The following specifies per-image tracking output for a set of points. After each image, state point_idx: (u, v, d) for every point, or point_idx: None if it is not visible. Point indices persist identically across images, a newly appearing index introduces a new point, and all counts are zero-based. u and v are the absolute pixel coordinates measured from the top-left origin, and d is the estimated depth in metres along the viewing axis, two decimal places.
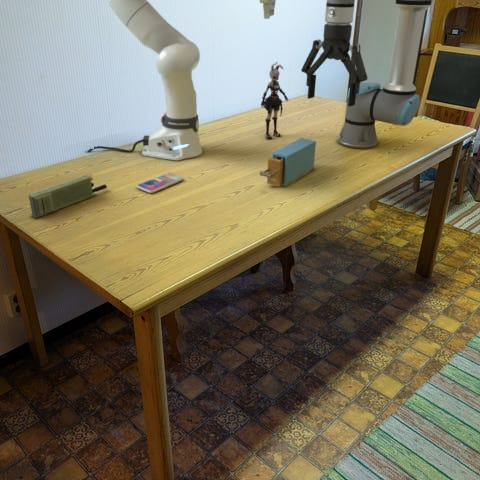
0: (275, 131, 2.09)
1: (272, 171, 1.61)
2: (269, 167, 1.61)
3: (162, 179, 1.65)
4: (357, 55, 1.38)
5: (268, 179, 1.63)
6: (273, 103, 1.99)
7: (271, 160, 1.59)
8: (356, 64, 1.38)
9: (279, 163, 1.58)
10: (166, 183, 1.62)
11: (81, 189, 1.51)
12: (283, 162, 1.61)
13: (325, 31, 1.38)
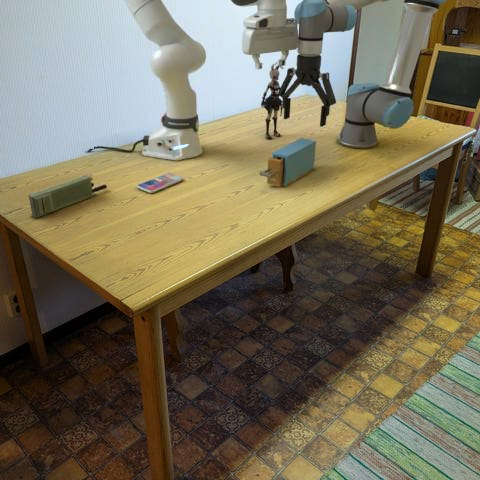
0: (275, 131, 2.09)
1: (272, 171, 1.61)
2: (269, 167, 1.61)
3: (162, 179, 1.65)
4: None
5: (268, 179, 1.63)
6: (273, 103, 1.99)
7: (271, 160, 1.59)
8: None
9: (279, 163, 1.58)
10: (166, 183, 1.62)
11: (81, 189, 1.51)
12: (283, 162, 1.61)
13: None
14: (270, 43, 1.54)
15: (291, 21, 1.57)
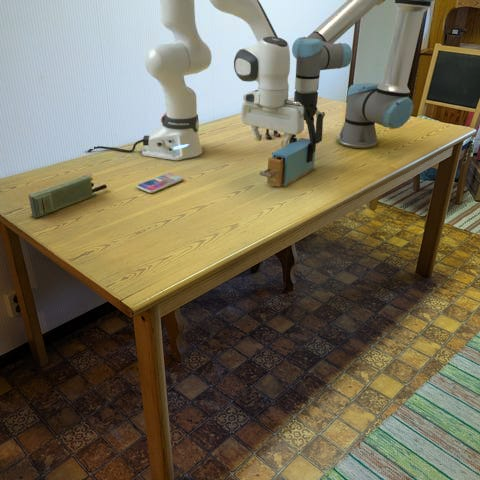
0: (275, 131, 2.09)
1: (272, 171, 1.61)
2: (269, 167, 1.61)
3: (162, 179, 1.65)
4: None
5: (268, 179, 1.63)
6: None
7: (271, 160, 1.59)
8: None
9: (279, 163, 1.58)
10: (166, 183, 1.62)
11: (81, 189, 1.51)
12: (283, 162, 1.61)
13: None
14: (264, 119, 1.50)
15: (294, 104, 1.44)
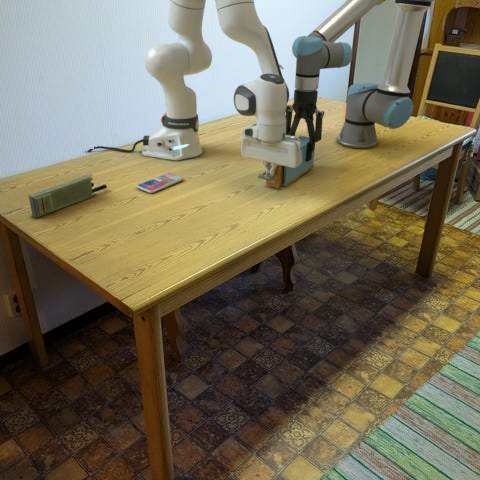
0: None
1: None
2: None
3: (162, 179, 1.65)
4: None
5: (267, 181, 1.62)
6: None
7: None
8: None
9: (277, 165, 1.57)
10: (166, 183, 1.62)
11: (81, 189, 1.51)
12: None
13: None
14: (263, 152, 1.53)
15: (292, 139, 1.47)
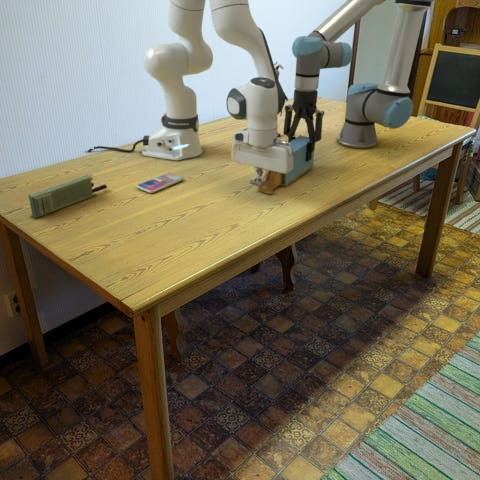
0: None
1: None
2: None
3: (162, 179, 1.65)
4: None
5: (259, 187, 1.59)
6: None
7: (261, 168, 1.55)
8: None
9: (269, 171, 1.54)
10: (166, 183, 1.62)
11: (81, 189, 1.51)
12: None
13: None
14: (254, 158, 1.50)
15: (283, 144, 1.44)
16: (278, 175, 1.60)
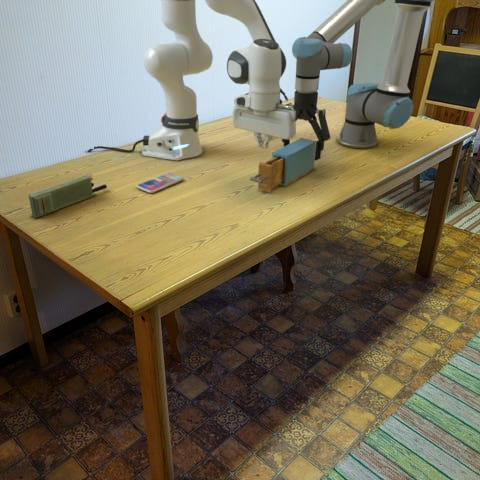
0: None
1: (263, 176, 1.57)
2: (260, 172, 1.57)
3: (162, 179, 1.65)
4: None
5: (259, 185, 1.59)
6: None
7: (262, 165, 1.55)
8: None
9: (270, 168, 1.54)
10: (166, 183, 1.62)
11: (81, 189, 1.51)
12: (274, 167, 1.57)
13: None
14: (255, 123, 1.47)
15: (286, 108, 1.40)
16: (278, 174, 1.60)
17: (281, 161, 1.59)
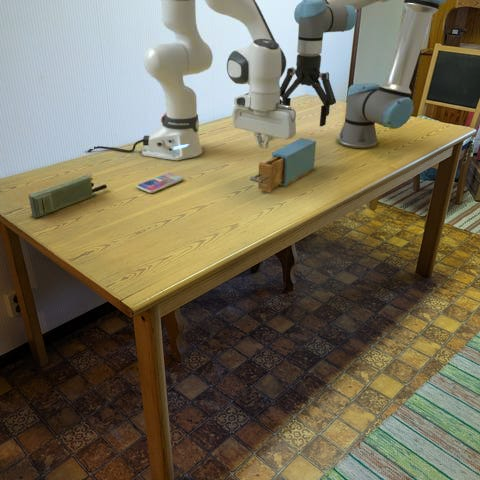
0: None
1: (263, 176, 1.57)
2: (260, 172, 1.57)
3: (162, 179, 1.65)
4: None
5: (259, 185, 1.59)
6: None
7: (262, 165, 1.55)
8: None
9: (270, 168, 1.54)
10: (166, 183, 1.62)
11: (81, 189, 1.51)
12: (274, 167, 1.57)
13: None
14: (255, 123, 1.47)
15: (286, 108, 1.40)
16: (278, 174, 1.60)
17: (281, 161, 1.59)
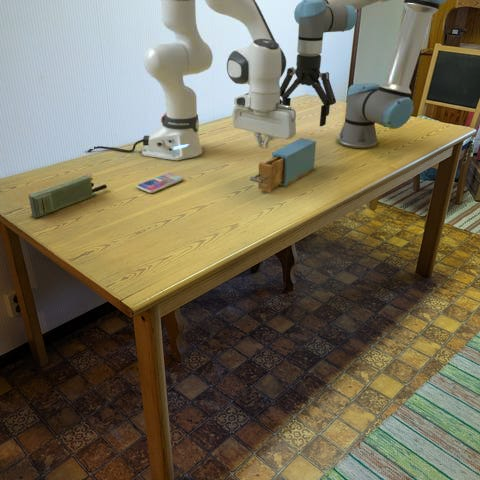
0: None
1: (263, 176, 1.57)
2: (260, 172, 1.57)
3: (162, 179, 1.65)
4: None
5: (259, 185, 1.59)
6: None
7: (262, 165, 1.55)
8: None
9: (270, 168, 1.54)
10: (166, 183, 1.62)
11: (81, 189, 1.51)
12: (274, 167, 1.57)
13: None
14: (255, 123, 1.47)
15: (286, 108, 1.40)
16: (278, 174, 1.60)
17: (281, 161, 1.59)
